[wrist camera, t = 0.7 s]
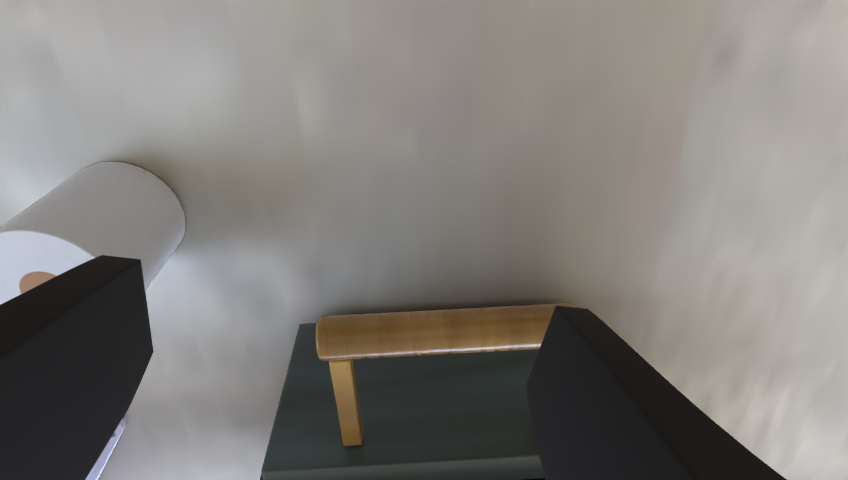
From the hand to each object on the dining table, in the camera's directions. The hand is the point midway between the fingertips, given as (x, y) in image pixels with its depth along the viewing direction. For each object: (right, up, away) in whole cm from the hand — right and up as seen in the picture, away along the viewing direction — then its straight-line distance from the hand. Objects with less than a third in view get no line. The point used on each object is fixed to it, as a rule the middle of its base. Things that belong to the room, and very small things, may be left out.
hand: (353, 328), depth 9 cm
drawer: (+2, -5, +14) cm, 15 cm away
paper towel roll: (-10, +3, +10) cm, 14 cm away
